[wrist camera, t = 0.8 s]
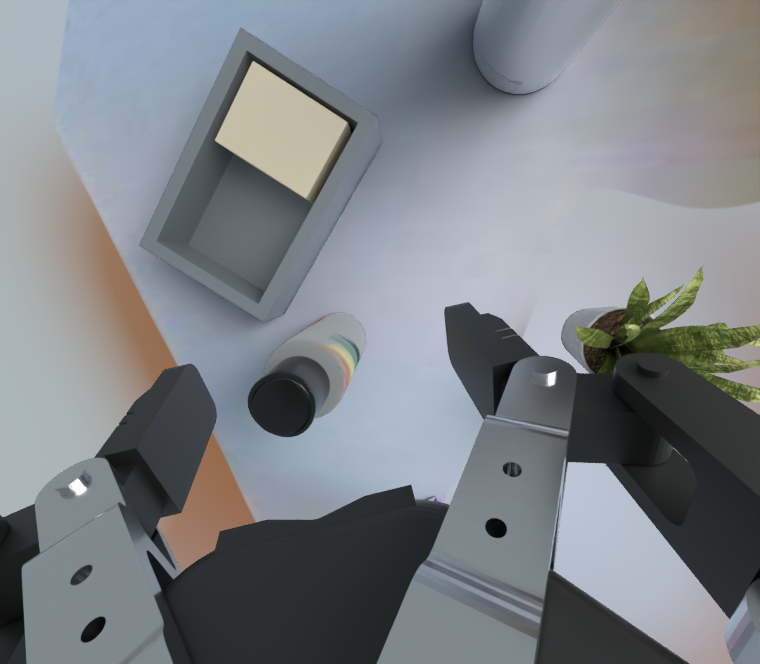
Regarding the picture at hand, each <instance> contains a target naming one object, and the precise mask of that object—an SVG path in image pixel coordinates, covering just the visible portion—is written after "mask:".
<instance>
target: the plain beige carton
mask: <svg viewBox="0 0 760 664" xmlns="http://www.w3.org/2000/svg"><path fill="white" fill-rule="evenodd" d="M351 135H352V133H351V130H350V127H349V125H348V122H347V121H345V120H344V119H342V118H340V117H339V116H337V115H336V114H334V113H333V112H331V111H330V110H328V109H327V108H325V107H324V106H322V105H320V104H319V103H317V102H316V101H314V100H313V99H311V98H310V97H308V96H307V95H305V94H304V93H302V92H300V91H299V90H297V89H296V88H294V87H293V86H291V85H290V84H288V83H287V82H285V81H284V80H282V79H280V78H279V77H277V76H276V75H274V74H273V73H271V72H270V71H268V70H267V69H265V68H264V67H262V66H261V65H259V64H257V63H256V62H254V61H253V62H252V64H251V66H250V68H249V70H248V72H247V74H246V76H245V78H244V80H243V82H242V85H241V87H240V89H239V91H238V93H237V95H236V97H235V99H234V101H233V103H232V105H231V107H230V110H229V112H228V114H227V116H226V118H225V120H224V122H223V124H222V126H221V128H220V130H219V132H218V135H217V137H216V139H215V141H216V142H217V143H219V144H220V145H222V146H223V147H225V148H226V149H228V150H229V151H231V152H232V153H234V154H235V155H237V156H238V157H240V158H241V159H243V160H244V161H246V162H248V163H249V164H251V165H252V166H254V167H255V168H257V169H259V170H260V171H262V172H263V173H265V174H266V175H268V176H270V177H271V178H273V179H274V180H276V181H277V182H279V183H281V184H282V185H284V186H285V187H287V188H288V189H290V190H292V191H293V192H295V193H296V194H298V195H299V196H301V197H303V198H304V199H306V200H307V201H309V202H310V203H312V204H314V202H315V201H316V199H317V197H318V195H319V193H320V192H321V190H322V188H323V186H324V184H325V183H326V181H327V179H328V177H329V175H330V173H331V172H332V170H333V168H334V166H335V164H336V163H337V161H338V159H339V157H340V155H341V154H342V152H343V150H344V148H345V146H346V145H347V143H348V141H349V139H350V137H351Z"/></svg>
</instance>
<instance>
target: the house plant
mask: <svg viewBox="0 0 760 664" xmlns="http://www.w3.org/2000/svg"><path fill="white" fill-rule="evenodd" d="M702 281H703V272H702V267H701V268H700V270H699V271H698V272H697V274H696V275H695V277H694V279H693V280H692V281H691V283H690V284H689V285H688V286H687V287H686V289H685V290H684V291H683V293H682V294H681V295H680V296H679V297H678V298H677V299H676V300H675V301H674V302H673V303H672V304H671V305H670V306H669V307H668V308H667V309H666V310H665V311H664V312H663V313H662V314H660V315H659V316H658V317H656V318H655V317H654V316H653V315H652V313H654V312H655V311H656V310H658V309H659V308H660V307H662V306H663V305H664V304H666V303H667V302H668V301H669V300H671V299H672V298H673V297H674V296H675V295H676V294H677V293H678V292H679V290H680V289H681V288H682V287H683V286H681V287H679V288H677V289H675V290H673V291H672V292H671V293H669V294H668V295H666V296H665V297H662V298H660V299H658V300H655V301H653V302H651V303H650V304H648V302H649V299H650V298H649V291H648V288H647V286H646V284H645V281H644V279H643V277H642V281H641V282H640V283H639V284H638V285H637V286H636V287H635V288H634V289H633V291H632V293H631V295H630V298H629V300H628V305H627V306H617V307H603V308H591V309H582V310H580V311H576V312H575V313H573V314H572V315H570V316H569V318H568V319H567V320H566V322H565V324H564V326H563V330H562V335H561V340H562V343H563V345H564V347H565V348H566V350H567V351H568V352H569V353H570V354H571V355H572V356H573V357H574V358H575V359H576V360H577V361H578V362H579V363H580V364H581V365H582V366H583V367H584V368H585V369H586V370H587V371H588V372H589V373H590V374H595V373H614V368H615V363H616V361H617V360H618V359H619V358H621V357H622V356H625V355H628V354H633V353H651V354H658V355H662V356H666V357H669V358H672V359H674V360H677V361H679V362H680V363H682V364H684V365H685V366H687V367H688V368H690V369H691V370H693V371H694V372H696V373H697V374H699V375H700V376H702V377H703V378H705V379H706V380H708V381H709V382H711V383H712V384H714V385H715V386H717V387H718V388H720V389H721V390H723V391H724V392H726V393H727V394H729V395H730V396H732V397H733V398H735V399H739V400H743V401H748V402H760V388H756V387H751V386H748V385H743V384H740V383H736V382H733V381H730V380H727V379H724V378H721V377H718V376H715V375H712V374H709V373H730V372H735V371H739V370H743V369H747V368H751V367H754V366H758V365H760V360H755V361H749V362H743V361H741V360H738V359H736V358H732V357H729V356H726V355H724V354H725V352H724V351H723V350H722V349H729V348H737V347H740V346H743V345H745V344H750V345H754V346H758V347H760V340H758V338H760V325H757V326H750V327H741V328H733V329H728V327H727V326H726V324H725V323H716V324H712V325H709V326H685V327H675V328H669V329H664V330H663V329H662V326H664V325H666V324H668V323H670V322H671V321H673V320H675V319H676V318H678V317H679V316H680V315H681V314H683V313H684V312H685V311H686V310H687V309H688V308H689V307H690V306H691V305H692V304H693V303H694V300H695V298H696V293H697V291H698V289H699V287H700V285H701V283H702ZM714 363H723V364H732V365H713V364H714ZM680 455H681V454H680ZM681 456H682V455H681ZM682 457H683V456H682ZM683 458H684V457H683ZM684 459H685V458H684ZM606 466H607V465H606Z"/></svg>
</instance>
